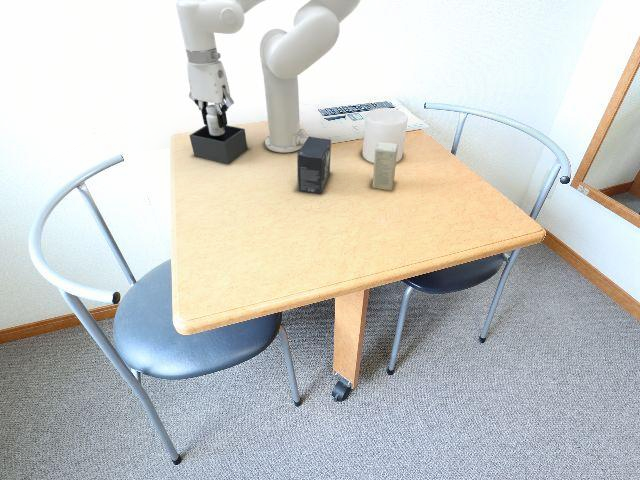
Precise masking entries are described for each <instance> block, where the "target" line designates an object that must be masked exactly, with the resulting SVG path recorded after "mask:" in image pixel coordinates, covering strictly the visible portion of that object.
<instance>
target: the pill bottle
mask: <svg viewBox="0 0 640 480" xmlns="http://www.w3.org/2000/svg"><path fill="white" fill-rule="evenodd" d="M206 110H207V113H208V114H207V116H206V118H207V123H208V128H209V133H210V134H211V135H213V136H219V135H222V134H224V133H225V129H224V127H223V128H219V125H218V119H217V114H218V111H217V109H216V106H215V104H208V106H207V107H206Z"/></svg>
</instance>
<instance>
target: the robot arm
mask: <svg viewBox="0 0 640 480" xmlns="http://www.w3.org/2000/svg"><path fill="white" fill-rule="evenodd" d="M265 1H266V0H177V1H176V11H177V15H178V20H179V25H180V29H181V34H182V38H183V43H184V48H185V53H186V58H187V62H186V64H187V65H186V66H187V68H186V69H187V79H188V86H189V88H190V91H189V93H188V98H190V100H192V101H193V102H194V104H195V105H196V106H197V108H198V110H199V111H200V112H201V116H202V121H203V125H204V126H206V125H207V124H208V123H207V118H206V116H207V114H208V113H207V110H206V107H207V106H208V105H209V103H212V104H214V105H215V106H216V109H217V111H218V114H217V119H218V125H219V128H223V127H224V126H226V125H228V119H227V113H226V112H228V109H229V108H230V107H231V106H233V105H234V104H235V101H234V100H233V98H232V97H231V89H230V85H229V81H228V77H227V74H226V70H225V67H224V64H223V62H222V61H221V60H220V59H221V53H220V52H218V50H217V43H216V38H215V33H216V34H222V35H223V34H225V35H233V34H236V33H238V32H239V31H240V30H241V29H243V26H244V24H245V14H247V13H248V12H250V10H252V9H253V8H255V7H256V6H257V5H259V4H261V3H263V2H265ZM360 2H361V0H309V1H308V2H306V3H305V4H304V5H303V6H301V7H300V8H299V9H298V10H297V11H296V13H295V15H294V18H293V28H291V29H290V30H289V31H286V30H284V29H280V28H273V29H270V30H268V31H266V32H265V34H264V35H263V36H262V38H261V40H260V44H259V57H260V63H261V64H260V65H261V69H262V76H263V84H264V94H265V105H266V114H267V124H268V126H267V127H268V134H269V135H268V136H267V137H266V139H265V140H264V145H265V148H266V149H268V150H269V151H272V152H276V153H282V154H283V153H284V154H286V153H293V152H297V151H300V149H301V148H302V146H303V145H304V143H305V142H306V140H307V138H308V137H312V136H311V135H308V134H305V133H304V129H303V128H301V123H300V122H301V121H300V120H301V119H300V100H299V99H300V97H299V94H300V93H299V78H298V76H299V75H301V74H302V73H304V72H305V71H307V69H309V68H310V67H311V66H312V65H314V64H315V63H317V62H318V61H319V60H320V59H321V58H323V57H324V56H325V55H326V54H327V53H329V52H330V51H331V50H332V49H333V47H334V46H335V45H336V43H337V41H338V40H339V36H340V31H341V29H340V27H341V26H340V24H341V23H342V22H343V21H344V20H345V19H346V18H347V17H349V16H350V15H351V14H352V13H353V12H354V11H355V9H356V8H357V7H358V6H359V4H360Z"/></svg>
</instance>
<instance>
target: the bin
mask: <svg viewBox="0 0 640 480" xmlns="http://www.w3.org/2000/svg"><path fill="white" fill-rule="evenodd" d="M224 129H225V133H224V134H222V135H219V136H213V135H211V134H210V133H209V128H208V124H207V125H204V126H202V127H201V128H199V129H197V130H196V131H194V132H192V133H191V134H189V140H190V144H191V148H192V153H193V155H194V157H195V158H196V157H197V158H201V159H205V160H209V161H212V162H218V163H222V164H226V165H229V164H231V163H232V162H234V160H236V159H237V158H239V157H240V156H241V155H242V154H244V153H245V152H246V151H247V150H248V149H249V147H248V142H247V135H246V129H245V128H242V127H238V126H237V127H236V126H232V125H228V124H227V125H226V126H224Z"/></svg>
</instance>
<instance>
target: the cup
mask: <svg viewBox="0 0 640 480" xmlns="http://www.w3.org/2000/svg"><path fill="white" fill-rule="evenodd" d="M408 120H409V116H408V115H407V114H406V112H404V111H403V110H400V109H396V108H389V107H378V108H373V109H369V110H368V111H367V112H366V113H365V116H364V130H363V143H362V157H363V158H364V159H365V160H366V161H367V162H370V163H372V164H374V159H375V148H376V146H377V145H378V143H379V142H383V143H392V144H398V150H397V159H396V163H397V162H399V161H401V160H402V158H403V153H404V146H405V140H406V132H407V127H408Z"/></svg>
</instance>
